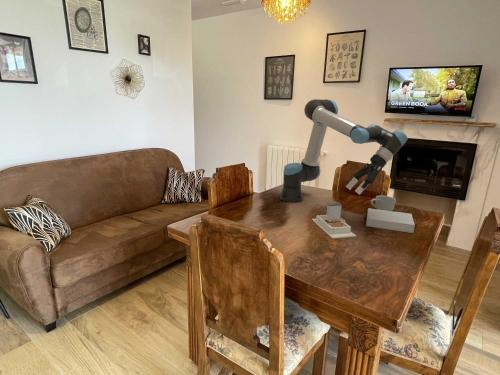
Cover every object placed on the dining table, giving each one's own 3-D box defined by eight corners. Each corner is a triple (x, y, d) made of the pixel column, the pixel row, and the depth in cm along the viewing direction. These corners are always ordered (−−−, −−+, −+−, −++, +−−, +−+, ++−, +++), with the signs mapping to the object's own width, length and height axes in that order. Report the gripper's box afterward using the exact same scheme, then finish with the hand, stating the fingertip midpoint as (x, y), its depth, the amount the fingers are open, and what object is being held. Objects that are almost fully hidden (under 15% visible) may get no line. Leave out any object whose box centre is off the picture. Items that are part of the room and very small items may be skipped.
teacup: (390, 208, 179) (391, 195, 177) (397, 214, 168) (398, 201, 166) (366, 207, 180) (368, 194, 178) (371, 213, 170) (373, 200, 168)
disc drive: (365, 215, 167) (366, 207, 166) (410, 221, 159) (411, 213, 158) (364, 226, 152) (365, 217, 150) (413, 234, 143) (414, 224, 142)
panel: (328, 227, 147) (330, 205, 144) (325, 225, 150) (327, 203, 146) (339, 226, 148) (341, 204, 145) (336, 224, 151) (338, 202, 148)
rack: (332, 238, 136) (333, 230, 135) (311, 219, 159) (312, 212, 158) (355, 236, 139) (356, 228, 138) (332, 218, 161) (332, 211, 160)
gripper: (398, 164, 135) (367, 199, 138) (375, 161, 160) (349, 190, 162) (387, 154, 134) (355, 189, 137) (365, 152, 159) (339, 182, 162)
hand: (352, 190), depth 150 cm, fingers open, 13 cm apart
